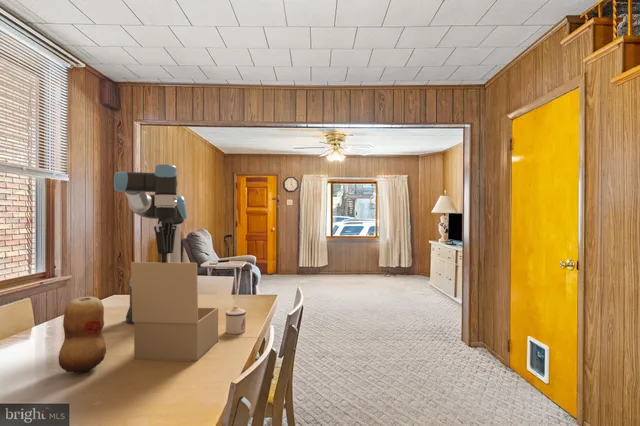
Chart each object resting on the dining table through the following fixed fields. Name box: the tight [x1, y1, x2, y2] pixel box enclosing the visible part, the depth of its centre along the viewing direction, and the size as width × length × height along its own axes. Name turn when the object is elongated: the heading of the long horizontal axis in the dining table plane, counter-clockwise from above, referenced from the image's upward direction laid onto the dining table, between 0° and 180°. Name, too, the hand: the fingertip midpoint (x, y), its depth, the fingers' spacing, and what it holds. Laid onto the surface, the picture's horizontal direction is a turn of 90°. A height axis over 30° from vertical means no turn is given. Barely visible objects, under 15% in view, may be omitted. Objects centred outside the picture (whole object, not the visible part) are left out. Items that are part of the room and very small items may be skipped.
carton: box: [133, 307, 219, 362], centre depth 152 cm, size 24×22×14 cm
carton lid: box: [130, 261, 199, 323], centre depth 140 cm, size 25×22×1 cm
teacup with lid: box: [224, 305, 247, 335], centre depth 177 cm, size 12×9×12 cm
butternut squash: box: [58, 296, 107, 374], centre depth 131 cm, size 14×13×25 cm
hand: (165, 271), depth 141 cm, fingers closed
